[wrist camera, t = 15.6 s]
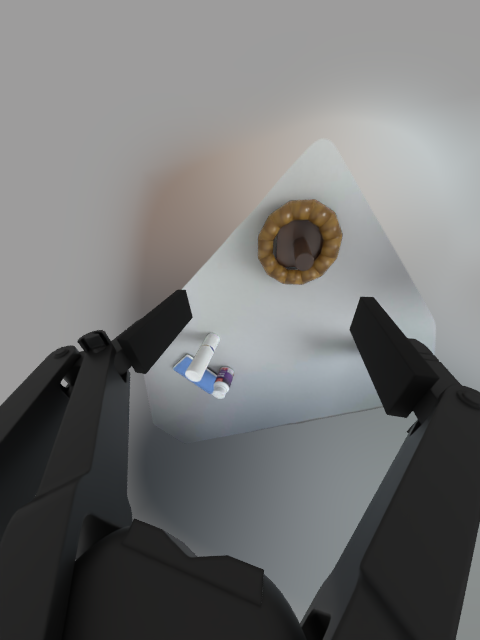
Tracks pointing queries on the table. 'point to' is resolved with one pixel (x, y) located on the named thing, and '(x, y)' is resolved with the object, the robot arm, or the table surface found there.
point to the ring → (300, 211)
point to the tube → (202, 358)
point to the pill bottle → (223, 382)
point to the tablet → (207, 378)
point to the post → (298, 244)
